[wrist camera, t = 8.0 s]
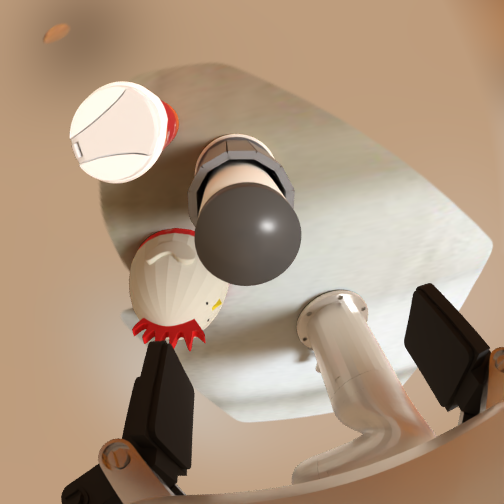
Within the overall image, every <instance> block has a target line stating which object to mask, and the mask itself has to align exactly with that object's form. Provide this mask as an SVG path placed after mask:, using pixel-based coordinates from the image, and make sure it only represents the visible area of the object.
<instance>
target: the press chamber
mask: <svg viewBox="0 0 504 504" xmlns="http://www.w3.org/2000/svg"><path fill="white" fill-rule="evenodd" d="M229 159H255V160H257V161H258V162H260V163H261V165H262V166H263V167H264V169H265V170H266V172H267V173H268V174H269V176H270V177H271V179H272V180H273V181H274V183H275V184H276V186H277V187H278V188H279V190H280V191H281V193H282V194H283V195H284V197H285V198H286V200H287V201H288V203H289V204H290V206H291V207H292V208H293V207H294V192H295V191H294V188H293V186H292V184H291V182H290V180H289V178H288V176H287V174H286V172H285V170H284V169H283V167H282V166H281V164H279V163H278V162H277V161H276V160H275V159H274V157H273V155H272V153H271V152H270V150H269V149H268V148H267V147H266V146H265V145H264V144H263V143H262V142H260V141H259V140H257V139H255V138H253V137H251V136H248V135H243V134H229V135H225V136H222V137H219V138H217V139H215V140H214V141H212V142H211V143H210V144H209V145H207V146H206V148H205V149H204V150H203V151H202V153H201V154H200V156H199V158H198V160H197V163H196V167H195V176H194V179H193V181H192V183H191V185H190V187H189V189H188V208H189V217H190V220H191V222H192V223H193V224H194V226H195V227H196V224H197V220H198V216H199V211H200V207H201V203H202V199H203V195H204V191H205V187H206V183H207V180H208V176H209V172H210V170H212V169H214V168H215V167H217V166H219V165H220V164H222V163H224V162H226V161H227V160H229Z"/></svg>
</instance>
